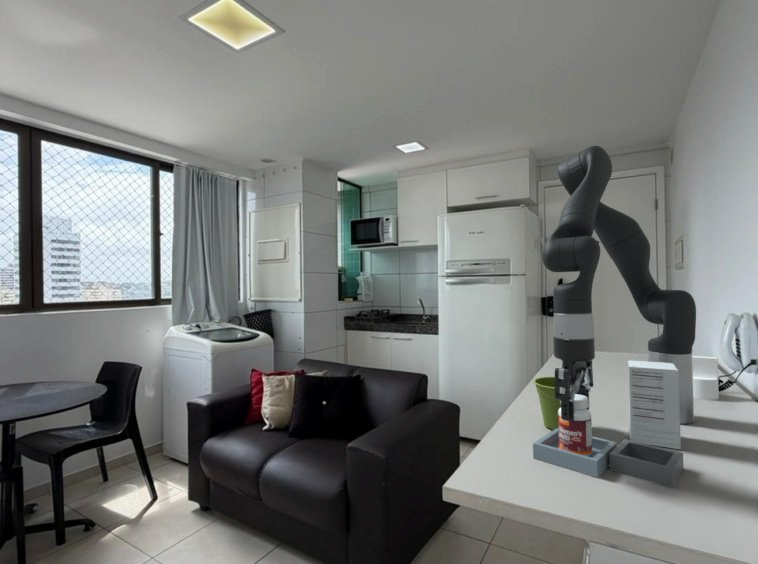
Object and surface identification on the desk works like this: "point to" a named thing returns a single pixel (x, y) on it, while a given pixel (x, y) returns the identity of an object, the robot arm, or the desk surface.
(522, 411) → the desk surface
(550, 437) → the parts tray
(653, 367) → the supplement box
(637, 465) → the gray hollow square frame
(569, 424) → the pill bottle
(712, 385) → the cylinder with rectangular tab
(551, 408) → the plant pot
